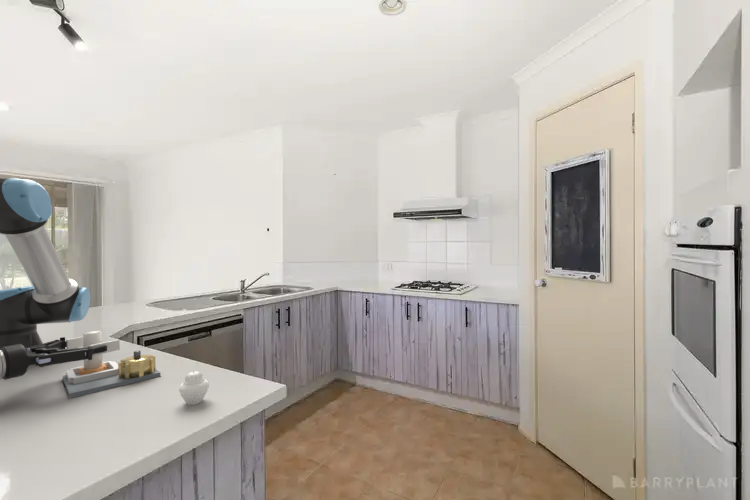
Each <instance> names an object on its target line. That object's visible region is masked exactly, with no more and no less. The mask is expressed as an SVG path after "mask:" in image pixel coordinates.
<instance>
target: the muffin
mask: <svg viewBox="0 0 750 500" xmlns="http://www.w3.org/2000/svg"><path fill="white" fill-rule="evenodd" d="M209 387H210V382H209V381H208V380H207V379H205V377H204V376H203V373H202V372H201V371H191V372H189V373H187V374H186V375H185V377H184V380H183V381H182V383H181V384H180V385H179V387H178V391H179V393H180V396H181V398H182V399H183V400H184V402H185V404H186V405H188V406H193V405H198V404H201V403H202V402H203V400H204V399H205V396H206V394H207V393H208V389H209Z"/></svg>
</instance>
